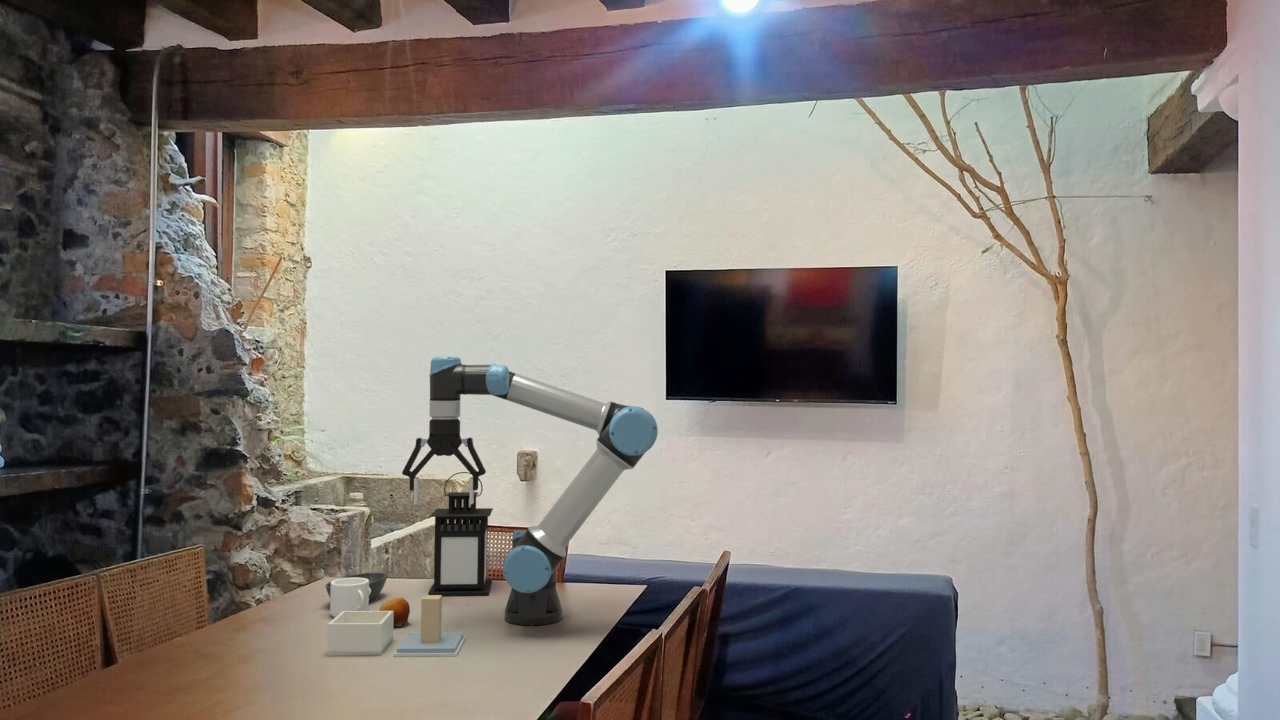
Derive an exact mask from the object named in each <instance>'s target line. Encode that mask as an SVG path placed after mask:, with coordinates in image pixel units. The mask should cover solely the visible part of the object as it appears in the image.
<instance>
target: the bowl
mask: <svg viewBox="0 0 1280 720" xmlns="http://www.w3.org/2000/svg"><path fill="white" fill-rule="evenodd" d="M352 577H358V578H366V579H368V580H369V587H370V589H371V593H370V595H369V604H370V603H372V602H373V601H375V600H376V599H377V598H378V597H379V595H380V593H382V590H383V588H384V586H385V584H386V582H387V578H388V574H387V573H386V572H365V573H364V572H362V573H357V574H352V575H348V576H344V577H343V576H342V577H340V578H338V579H341V578H352ZM332 581H333V580H331V581H329V582H327V583H326V584H325V589H326V593H327V594H328V596H329V598H330V587H331V582H332Z"/></svg>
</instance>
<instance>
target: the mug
mask: <svg viewBox="0 0 1280 720" xmlns="http://www.w3.org/2000/svg"><path fill="white" fill-rule="evenodd" d="M340 578H341V579H339V578H336V579H332V580H331V581H332V582H331V581H330V582H331V587H330V597H329V598H330V599H329V614H330V616H332V617H333V618H335V617H336V616H337V615H339V614H340V613H341V612H342V611H369V605H370V603H369V595H370V593H371V589H370V587H369V580H368V579H366V578H358V577H352V578H343V577H340Z"/></svg>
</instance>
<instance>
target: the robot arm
mask: <svg viewBox="0 0 1280 720" xmlns="http://www.w3.org/2000/svg"><path fill="white" fill-rule="evenodd" d="M461 395H465V396H466V395H470V396H471V395H475V396H476V395H478V396H479V395H481V396H483V395H484V396H486V395H487V396H489V395H490V396H493V397H496V398H499V399H501V400H506V401H508V402H511V403H514V404H517V405H520V406H523V407H526V408H528V409H532V410H536V411H538V412H541V413H543V414H547V415H549V416H552V417H554V418H559V419H561V420H564V421H567V422H571V424H576V425H579V426H581V427H585V428H586V429H589V430H593V431H595V432H596V433H597V436H598V437H597V438H596V441H595V442H596V449H595V451H594V452H593V454H592V455H591V456H590V457H589V459H588V460H587V461H586V463H585V464H584V465H583V466H582V468H581V470H580V471H579V472H578V473H577V474H576V476H575V477H574V478H573V480H572V481H570V483H569V485H568V486H567V487H566V489H565V490H564V491H563V493H562V494H561V495H560V496H559V498H558V499H557V501H556V502H554V504H553V506H552V507H551V508H550V510H549V511H548V512H547V513H546V515H545V516H544V517H543V518H542V520H541V521H540V522H539V524H537V525H532V526H531V525H530V526H529V527H528V528H527V529H526V530H515V531H514V532H513V533H512V538H511V543H512V545H511V546H512V547H511V548H512V549H510V550H509V552H508V553H507V554H506V555H505V557H504V560H503V565H502V570H503V571H502V572H503V573H502V574H503V576H504V580H505V581H506V584H508V585H509V586H510V587H511V590H510V593H509V596H508V600H507V602H506V605H505V609H504V621H506V622H507V623H511V624H513V625H519V626H522V625H523V626H541V625H543V626H544V625H548V624H550V625H551V624H554V623H556V622H559V621H561V620H562V619H563V607H562V604H561V600H560V597H559V594H558V591H557V568H558V567H559V565H560V564H561V563H562V561H563V560H564V559H565V558H566V556H567V552H566V547H567V546H568V544H569V542H570V541H571V540H572V538H573V537H574V536H575V535H576V533H577V532H578V531H579V529H580V528H581V527H582V526H583V524H584V523H585V522H586V521H587V519H588V518H589V516H590V515H591V513H593V512H594V510H595V508H596V507H597V506H598V505H599V504H600V503H601V501H602V499H604V497H605V496H606V494H607V493H608V492H609V491H610V489H611V488H612V486H613V485H615V483H616V481H617V480H619V477H620V476H621V475H622V474H623V472H624V471H626V470H632V469H634V468H635V467H636V465H638V463H639V462H640V460H641V459H642V458H643V456H644V455H645V454H646V453H647V452H648V451H650V449H652V448H653V446H654V445H655V443H656V441H657V438H658V433H659V430H658V424H657V420H656V419H655V418H654V415H652V413H650V412H649V411H648V410H646V409H644V408H643V407H640V406H636V405H634V406H633V405H625V404H620V403H616V402H615V401H608V402H606V403H605V402H602V401H599V400H596V399H593V398H590V397H587V396H584V395H581V394H578V393H575V392H572V391H570V390H566V389H564V388H560V387H558V386H554V385H552V384H549V383H545V382H543V381H539V380H536V379H534V378H530V377H528V376H526V375H522V374H519V373H515V372H513V371H510V370H509V368H508V366H506V365H504V364H462V361H461V358H460V357H458V356H434V357H432V358H431V360H430V369H429V413H428V414H429V417H430V418H431V419H430V420H429V421H428V422H429V424H428V425H429V429H428V434H429V435H428V438H422V437H418V438H417V437H416V439H415V444H414V445H415V446H414V448H413V451H412V452H411V455H410V456H409V458H408V459H407V462H406V464H405V466H404V468H403V470H402V472H401V473H402V475H403V476H406V477H408V478H409V491H411V492H413V505H415V506H416V505H417V506H418V504H419V503H420V502H419V501H420V476H417V475H418V474H419V473H420V472H421V470H422V469H423V468H424V467H425V466H426V465H427V463H428V462H429V461H430V460H431V459H432V458H433V457H434V456H435V455H436V456H437V457H441V456H446V457H451V456H453V455H454V456H455V457H456V459H458V461H459V462H460V463H461V464H462V465H463V466H464V467H465V469H466V470H467V472H469V473H471V474H470V475H471V476H470V477H469V492H470V499H469V505H470V504H473V503H474V492H475V491H478V490H479V480H478V478H480V476H484V475H485V474H486V473H487V472H486V468H485V467H484V464H483V462H482V461H481V458H480V456H479V455H478V453H477V450H476V449H475V446H474V438H472V437H471V436H470V437H467V438H461V420H460V419H459V418H460V417H461ZM426 444H427V445H428V447H429V448H430V450H429V452H427V454H426V455H425V456H424V457H423V458H422V460H421V461H419V462H418V464H417V465H416V466H415V468H414V469H413V470H412V467H413V465H414V463H415V461H416V459H417V457H418V456H419V454H420V452H421V449H422V448H424V447H425V445H426ZM462 444H463V445H464V447H466V448H467V449H468V451H469V454H470V456H471V457H472V460H473V461H474V464H475V465H476V468H477V469H478V470H476V469H475V467H474V466H473V465H472V463H470V461H469V460H468V459H467V458H466V457H465V456H464V454H463V452H462V451H461V450H460V449H459V448H460V447H461V445H462ZM411 470H412V471H411Z"/></svg>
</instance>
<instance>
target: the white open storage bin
mask: <svg viewBox="0 0 1280 720" xmlns="http://www.w3.org/2000/svg"><path fill="white" fill-rule="evenodd" d="M393 620H394V611H379V610H368V611H342V612H341V613H340V614H339V615H337V616H336V617H333V619H332V620H330V621H329V622H328V623H327V624H326V625H327V628H326V656H328V657H335V656H339V657H340V656H342V657H344V656H346V657H347V656H350V657H351V656H355V657H358V656H382V655H383V654H384V653H385V651H387V648H389V646H390V645H391V643H392V642H394V627H393Z"/></svg>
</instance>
